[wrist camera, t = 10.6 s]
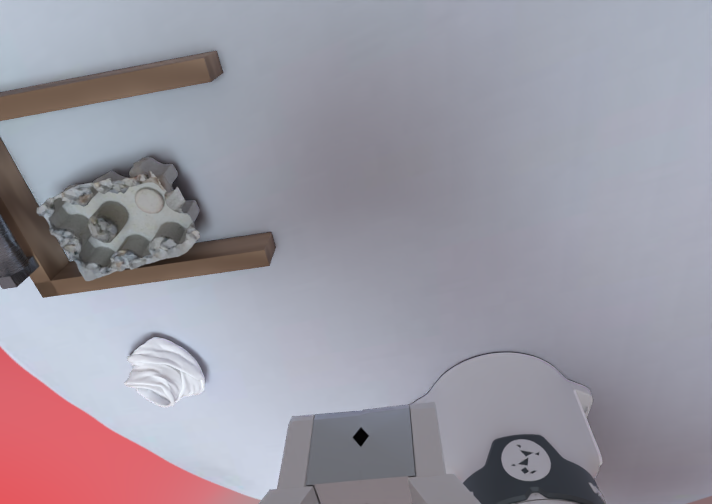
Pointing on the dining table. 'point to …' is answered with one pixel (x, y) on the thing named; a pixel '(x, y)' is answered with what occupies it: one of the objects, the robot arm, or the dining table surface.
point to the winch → (13, 259)
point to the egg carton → (123, 220)
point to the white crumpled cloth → (164, 372)
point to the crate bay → (18, 208)
